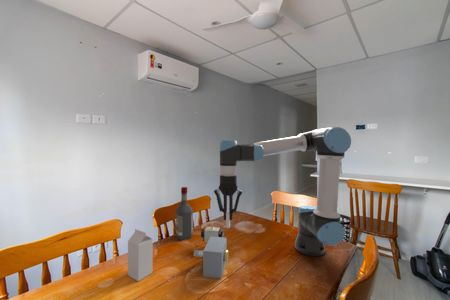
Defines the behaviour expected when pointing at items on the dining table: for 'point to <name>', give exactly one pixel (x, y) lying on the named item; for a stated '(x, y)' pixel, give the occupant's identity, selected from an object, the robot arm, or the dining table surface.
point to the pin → (200, 254)
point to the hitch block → (214, 257)
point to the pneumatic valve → (211, 233)
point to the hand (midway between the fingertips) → (228, 226)
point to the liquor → (184, 218)
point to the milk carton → (140, 255)
